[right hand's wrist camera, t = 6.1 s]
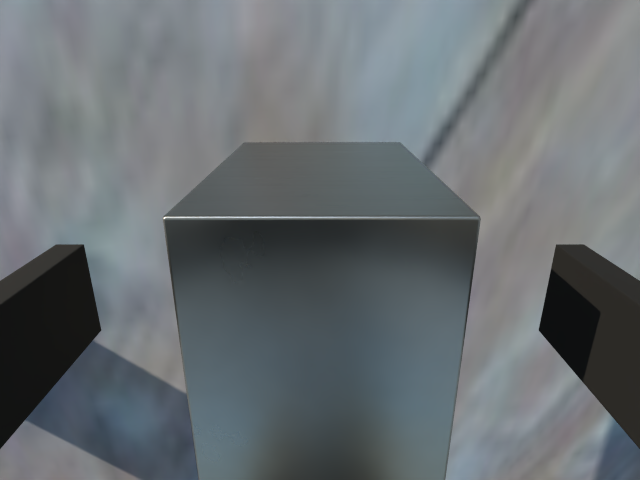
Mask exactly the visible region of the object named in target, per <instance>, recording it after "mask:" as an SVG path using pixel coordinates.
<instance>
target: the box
mask: <svg viewBox="0 0 640 480" xmlns="http://www.w3.org/2000/svg"><path fill="white" fill-rule="evenodd" d="M480 220H481V219H480V216H479V215H478V214H477V213H476V212H474V211H473V210H472V209H471V208H470V207H469V206H468V205H467V204H466V203H465V202H464V201H463V200H462V199H461V198H459V197H458V196H457V195H456V194H455V193H454V192H453V191H452V190H451V189H450V188H449V187H448V186H447V185H446V184H444V183H443V182H442V181H441V180H440V179H439V178H438V177H437V176H436V175H435V174H434V173H433V172H432V171H430V170H429V169H428V168H427V167H426V166H425V165H424V164H423V163H422V162H421V161H420V160H419V159H418V158H417V157H415V156H414V155H413V154H412V153H411V152H410V151H409V150H408V149H407V148H406V147H405V146H404V145H403V144H401V143H400V142H267V143H243V144H242V145H241V146H240V147H239V148H238V149H237V150H235V151H234V152H233V153H232V154H231V155H230V156H229V157H228V158H227V159H226V160H225V161H223V162H222V163H221V164H220V165H219V166H218V167H217V168H216V169H215V170H214V171H213V172H212V173H210V174H209V175H208V176H207V177H206V178H205V179H204V180H203V181H202V182H201V183H200V184H198V185H197V186H196V187H195V188H194V189H193V190H192V191H191V192H190V193H189V194H188V195H187V196H185V197H184V198H183V199H182V200H181V201H180V202H179V203H178V204H177V205H176V206H175V207H173V208H172V209H171V210H170V211H169V212H168V213H167V214H166V215H165V216H164V217H163V223H164V230H165V237H166V245H167V252H168V259H169V267H170V274H171V281H172V289H173V296H174V303H175V311H176V318H177V325H178V332H179V340H180V347H181V354H182V362H183V369H184V376H185V384H186V391H187V398H188V406H189V413H190V420H191V427H192V435H193V442H194V449H195V457H196V464H197V471H198V479H199V480H445V477H446V470H447V462H448V455H449V448H450V440H451V433H452V426H453V418H454V411H455V404H456V396H457V389H458V382H459V374H460V367H461V359H462V352H463V345H464V337H465V330H466V323H467V315H468V308H469V301H470V293H471V286H472V279H473V271H474V264H475V256H476V249H477V242H478V234H479V227H480Z"/></svg>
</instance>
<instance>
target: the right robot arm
mask: <svg viewBox="0 0 640 480" xmlns="http://www.w3.org/2000/svg"><path fill="white" fill-rule="evenodd" d="M100 331H101V327H100V322H99V317H98V312H97V307H96V302H95V297H94V292H93V287H92V283H91V278H90V273H89V268H88V263H87V258H86V253H85V248H84V245H55V246H53V247H52V248H50V249H49V250H47V251H46V252H44V253H43V254H41V255H39V256H38V257H36V258H35V259H33V260H32V261H30V262H29V263H27V264H26V265H24V266H23V267H21V268H19V269H18V270H16V271H15V272H13V273H12V274H10V275H9V276H7V277H6V278H4V279H3V280H1V281H0V449H1V447H2V446H3V445H4V444H5V443H6V442H7V440H8V439H9V438H10V437H11V436H12V434H13V433H14V432H15V431H16V430H17V429H18V427H19V426H20V425H21V424H22V423H23V422H24V420H25V419H26V418H27V417H28V416H29V414H30V413H31V412H32V411H33V410H34V409H35V407H36V406H37V405H38V404H39V403H40V402H41V400H42V399H43V398H44V397H45V396H46V395H47V393H48V392H49V391H50V390H51V389H52V387H53V386H54V385H55V384H56V383H57V382H58V380H59V379H60V378H61V377H62V376H63V375H64V373H65V372H66V371H67V370H68V369H69V368H70V366H71V365H72V364H73V363H74V362H75V360H76V359H77V358H78V357H79V356H80V355H81V353H82V352H83V351H84V350H85V349H86V348H87V346H88V345H89V344H90V343H91V342H92V340H93V339H94V338H95V337H96V336H97V335H98V333H99V332H100ZM539 331H540V332H541V333H542V335H543V336H544V337H545V338H546V339H547V340H548V342H549V343H550V344H551V345H552V346H553V348H554V349H555V350H556V351H557V352H558V353H559V355H560V356H561V357H562V358H563V359H564V360H565V362H566V363H567V364H568V365H569V366H570V368H571V369H572V370H573V371H574V372H575V373H576V375H577V376H578V377H579V378H580V379H581V380H582V382H583V383H584V384H585V385H586V386H587V387H588V389H589V390H590V391H591V392H592V393H593V395H594V396H595V397H596V398H597V399H598V400H599V402H600V403H601V404H602V405H603V406H604V407H605V409H606V410H607V411H608V412H609V413H610V414H611V416H612V417H613V418H614V419H615V420H616V422H617V423H618V424H619V425H620V426H621V427H622V429H623V430H624V431H625V432H626V433H627V434H628V436H629V437H630V438H631V439H632V440H633V442H634V443H635V444H636V445H637V446H638V447H639V449H640V281H639V280H637V279H636V278H634V277H633V276H631V275H630V274H628V273H627V272H625V271H624V270H622V269H621V268H619V267H617V266H616V265H614V264H613V263H611V262H610V261H608V260H607V259H605V258H604V257H602V256H601V255H599V254H597V253H596V252H594V251H593V250H591V249H590V248H588V247H587V246H585V245H556V248H555V253H554V258H553V263H552V268H551V273H550V278H549V283H548V287H547V292H546V297H545V302H544V307H543V312H542V317H541V322H540V327H539Z"/></svg>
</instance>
